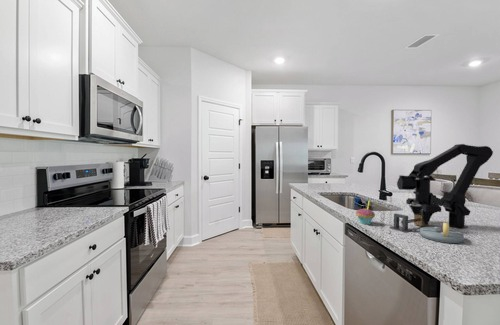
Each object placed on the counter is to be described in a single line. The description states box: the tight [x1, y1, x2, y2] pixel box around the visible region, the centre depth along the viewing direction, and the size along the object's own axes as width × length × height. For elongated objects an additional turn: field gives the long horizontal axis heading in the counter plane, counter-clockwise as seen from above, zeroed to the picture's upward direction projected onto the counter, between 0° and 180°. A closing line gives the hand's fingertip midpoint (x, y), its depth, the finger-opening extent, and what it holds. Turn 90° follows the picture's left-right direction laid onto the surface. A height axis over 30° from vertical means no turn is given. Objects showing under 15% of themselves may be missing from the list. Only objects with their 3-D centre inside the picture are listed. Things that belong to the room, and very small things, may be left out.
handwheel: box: [419, 222, 465, 244], centre depth 100 cm, size 14×14×7 cm
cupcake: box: [355, 199, 376, 226], centre depth 121 cm, size 9×8×12 cm
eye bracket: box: [389, 213, 413, 233], centre depth 111 cm, size 5×7×7 cm
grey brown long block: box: [400, 213, 430, 227], centre depth 114 cm, size 16×4×5 cm, turn 115°
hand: (422, 222), depth 117 cm, fingers open, 6 cm apart
